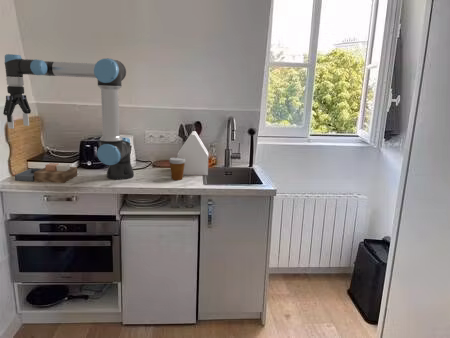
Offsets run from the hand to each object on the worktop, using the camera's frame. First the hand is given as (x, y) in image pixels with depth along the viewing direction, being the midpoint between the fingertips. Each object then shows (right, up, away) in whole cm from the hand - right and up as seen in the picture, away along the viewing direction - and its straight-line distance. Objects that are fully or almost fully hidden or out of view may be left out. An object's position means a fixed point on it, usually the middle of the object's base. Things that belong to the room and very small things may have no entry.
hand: (19, 127), depth 186 cm
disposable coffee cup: (+81, -28, +19) cm, 88 cm away
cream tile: (+20, -23, +7) cm, 31 cm away
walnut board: (+16, -27, +9) cm, 33 cm away
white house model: (+89, -24, +38) cm, 99 cm away
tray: (+2, -27, +9) cm, 28 cm away
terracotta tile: (+14, -23, +7) cm, 28 cm away
